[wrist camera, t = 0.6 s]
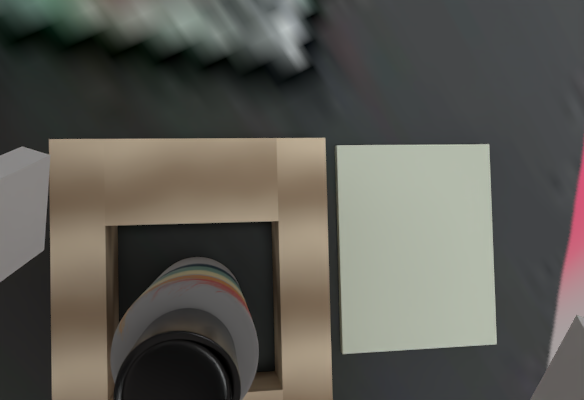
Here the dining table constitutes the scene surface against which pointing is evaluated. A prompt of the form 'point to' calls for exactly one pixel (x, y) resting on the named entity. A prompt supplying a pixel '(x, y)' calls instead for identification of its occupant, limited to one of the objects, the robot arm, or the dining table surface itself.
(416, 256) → the sage pad
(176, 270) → the lotion bottle
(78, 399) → the holder block
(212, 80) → the dining table surface
